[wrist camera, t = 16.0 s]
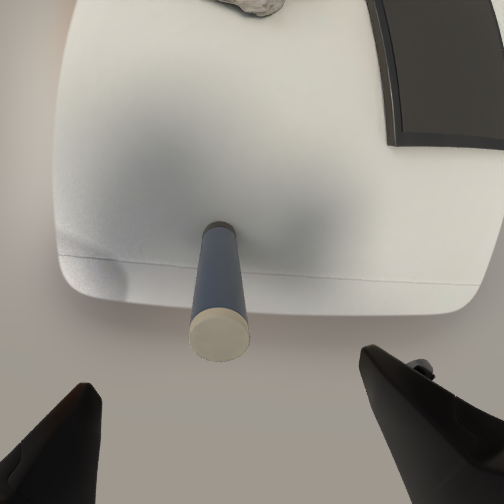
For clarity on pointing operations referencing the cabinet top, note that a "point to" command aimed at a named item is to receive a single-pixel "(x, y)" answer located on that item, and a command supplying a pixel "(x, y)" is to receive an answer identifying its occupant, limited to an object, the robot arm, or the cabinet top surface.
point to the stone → (257, 5)
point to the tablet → (440, 72)
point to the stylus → (219, 298)
